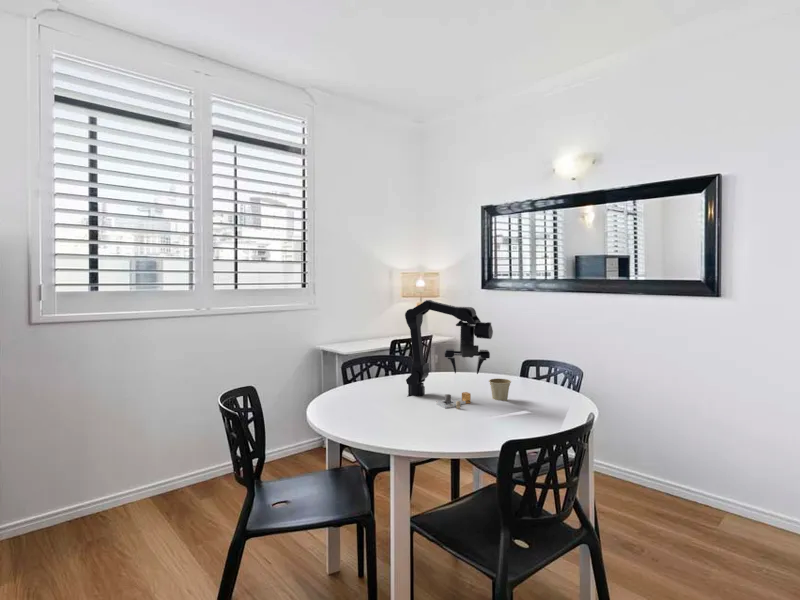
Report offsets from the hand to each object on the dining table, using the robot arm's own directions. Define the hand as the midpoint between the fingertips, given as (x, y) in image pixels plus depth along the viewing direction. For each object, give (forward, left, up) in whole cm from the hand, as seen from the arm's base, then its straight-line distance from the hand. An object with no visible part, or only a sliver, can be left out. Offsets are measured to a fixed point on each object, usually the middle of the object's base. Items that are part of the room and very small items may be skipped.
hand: (466, 373), depth 204 cm
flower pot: (+12, +9, -13) cm, 20 cm away
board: (-4, -10, -13) cm, 16 cm away
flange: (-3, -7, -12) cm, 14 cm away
